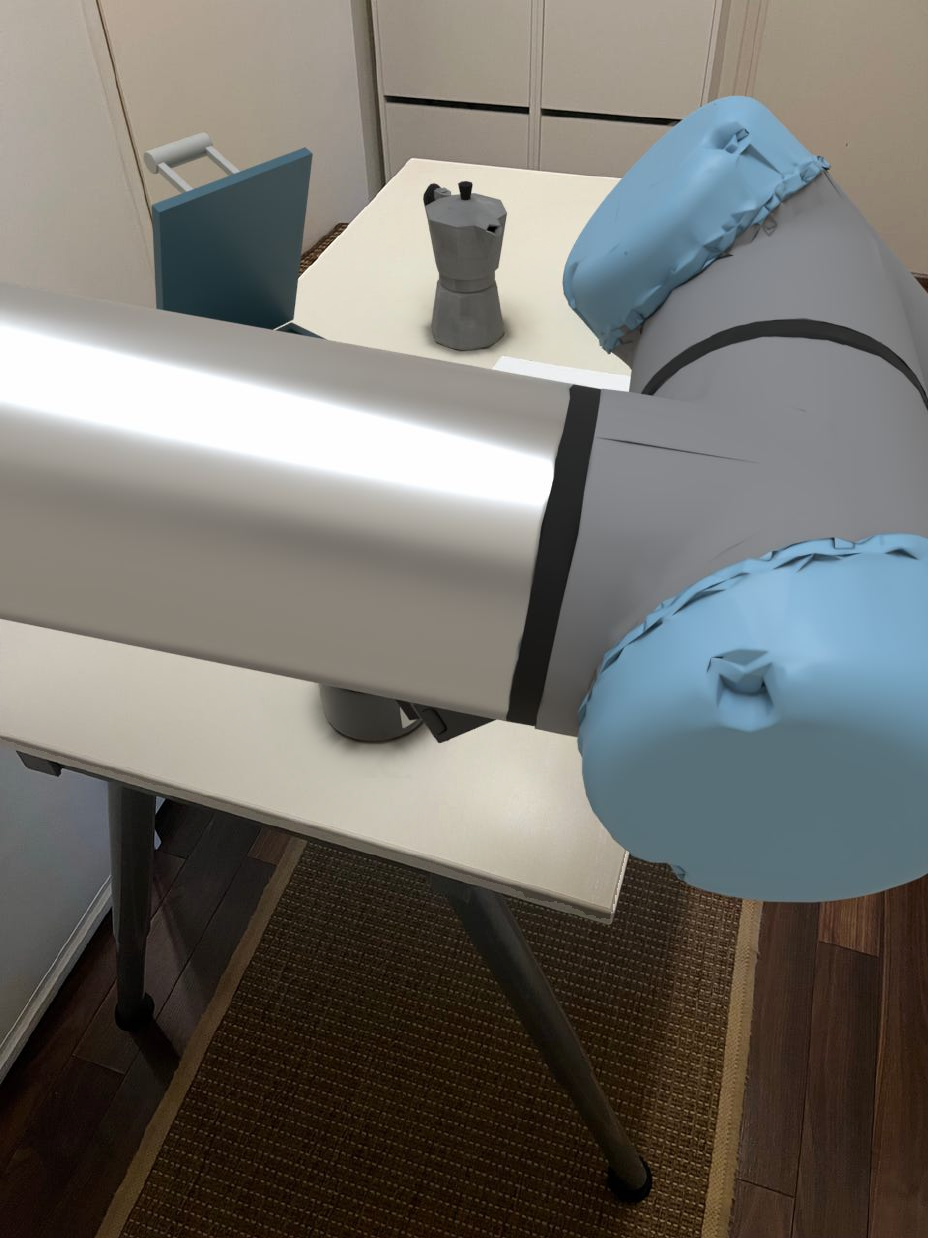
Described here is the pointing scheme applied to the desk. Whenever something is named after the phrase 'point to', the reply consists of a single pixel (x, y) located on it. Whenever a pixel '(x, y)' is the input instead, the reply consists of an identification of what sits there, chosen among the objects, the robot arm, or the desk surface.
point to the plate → (563, 374)
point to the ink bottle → (364, 714)
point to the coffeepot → (465, 265)
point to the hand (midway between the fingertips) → (476, 634)
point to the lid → (230, 236)
